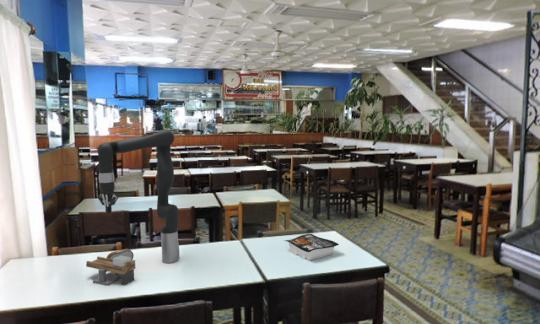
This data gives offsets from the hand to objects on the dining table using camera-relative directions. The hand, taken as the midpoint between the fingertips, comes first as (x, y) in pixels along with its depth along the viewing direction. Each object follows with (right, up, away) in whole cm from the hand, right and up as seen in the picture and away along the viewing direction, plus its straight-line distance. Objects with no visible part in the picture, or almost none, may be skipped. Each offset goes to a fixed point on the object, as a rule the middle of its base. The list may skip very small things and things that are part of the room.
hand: (108, 213), depth 203 cm
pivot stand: (+8, -33, -8) cm, 35 cm away
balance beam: (+4, -27, -7) cm, 28 cm away
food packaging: (+110, -28, +28) cm, 117 cm away
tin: (+2, -31, +12) cm, 33 cm away
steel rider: (+11, -26, -11) cm, 30 cm away
